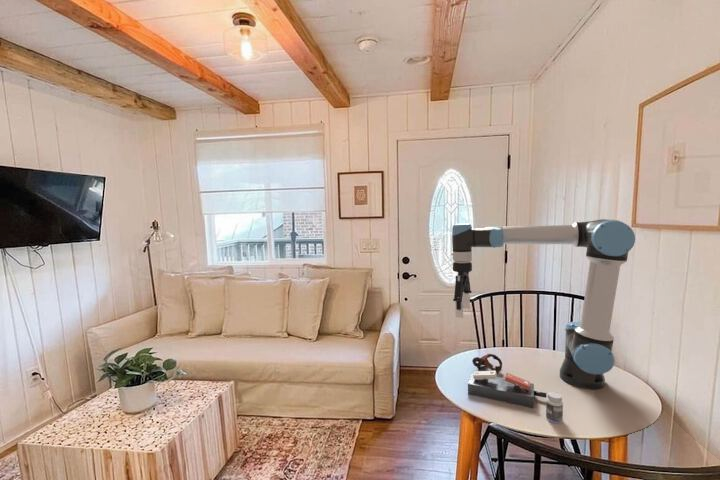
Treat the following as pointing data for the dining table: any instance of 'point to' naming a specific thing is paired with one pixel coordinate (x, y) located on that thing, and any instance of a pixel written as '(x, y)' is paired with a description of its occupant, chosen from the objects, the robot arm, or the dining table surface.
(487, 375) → the rocker
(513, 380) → the rocker
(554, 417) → the pill bottle
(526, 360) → the dining table surface
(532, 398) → the rocker switch panel
